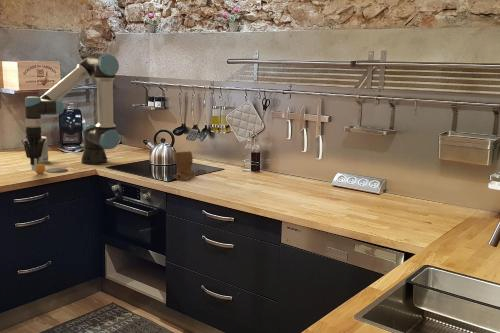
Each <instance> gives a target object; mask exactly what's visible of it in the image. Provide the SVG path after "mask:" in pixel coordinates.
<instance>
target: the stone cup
mask: <svg viewBox="0 0 500 333" xmlns="http://www.w3.org/2000/svg"><path fill="white" fill-rule="evenodd" d="M193 161H194V160H193V152H191V150H190V151H188V150H187V151H176V152H174V162H175V164H176V168H177V172H176V173H175V174H173V175H172V177H173V178H174V179H175V180H177V181H185V180H189V179H191V178H194V177H195V176H197V175H198V173H195V172H193V171H192V165H193Z"/></svg>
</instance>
